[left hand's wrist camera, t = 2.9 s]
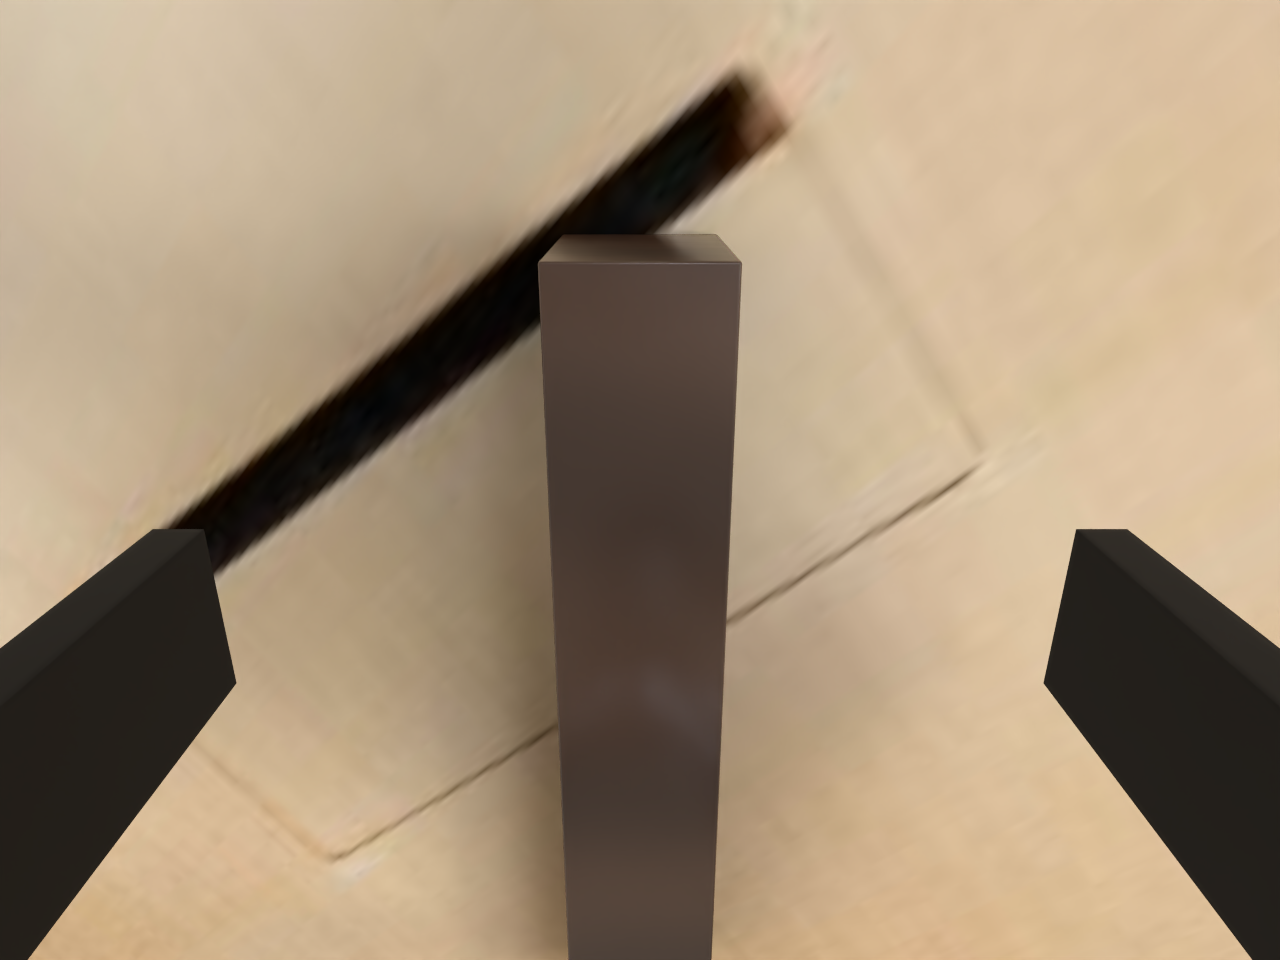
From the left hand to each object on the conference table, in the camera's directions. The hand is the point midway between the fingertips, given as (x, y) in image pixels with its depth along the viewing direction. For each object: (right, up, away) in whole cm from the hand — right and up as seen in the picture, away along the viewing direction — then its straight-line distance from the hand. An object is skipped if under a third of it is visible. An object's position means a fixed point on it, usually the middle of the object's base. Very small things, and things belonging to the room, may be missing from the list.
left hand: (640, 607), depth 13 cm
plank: (0, -5, +20) cm, 21 cm away
